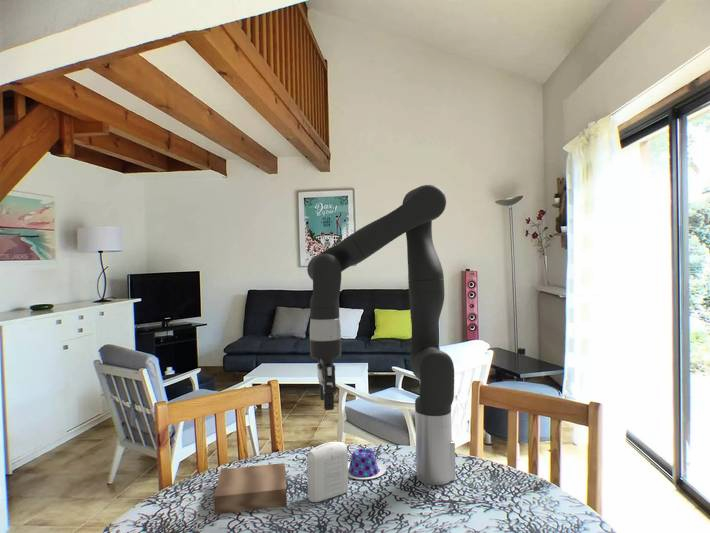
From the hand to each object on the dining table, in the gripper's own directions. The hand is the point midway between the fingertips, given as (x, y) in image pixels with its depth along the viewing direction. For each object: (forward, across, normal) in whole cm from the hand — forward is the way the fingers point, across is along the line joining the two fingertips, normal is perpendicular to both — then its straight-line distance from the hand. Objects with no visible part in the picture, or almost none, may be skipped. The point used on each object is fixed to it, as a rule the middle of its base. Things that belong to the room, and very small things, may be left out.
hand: (326, 404), depth 108 cm
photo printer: (+22, 0, 0) cm, 22 cm away
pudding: (+22, +11, -11) cm, 27 cm away
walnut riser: (+22, +4, +18) cm, 29 cm away
